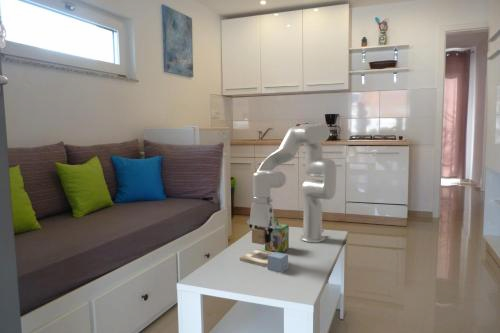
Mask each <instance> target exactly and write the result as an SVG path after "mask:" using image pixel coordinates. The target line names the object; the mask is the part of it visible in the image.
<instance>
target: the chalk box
mask: <svg viewBox="0 0 500 333" xmlns="http://www.w3.org/2000/svg"><path fill="white" fill-rule="evenodd" d="M274 222H275V223H276V225H277V228H275V229H274V230H273V231H272V233H271V242H269V243H267V244H264V251H269V252H279V253H284V251H286V250H288V249H289V247H290V245H289V244H290V243H289V238H290V234H289V232H290V227H289V226H290V225H289V224H283V223H279V219H278V218H277V217H274ZM271 228H272V226H271Z"/></svg>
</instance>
